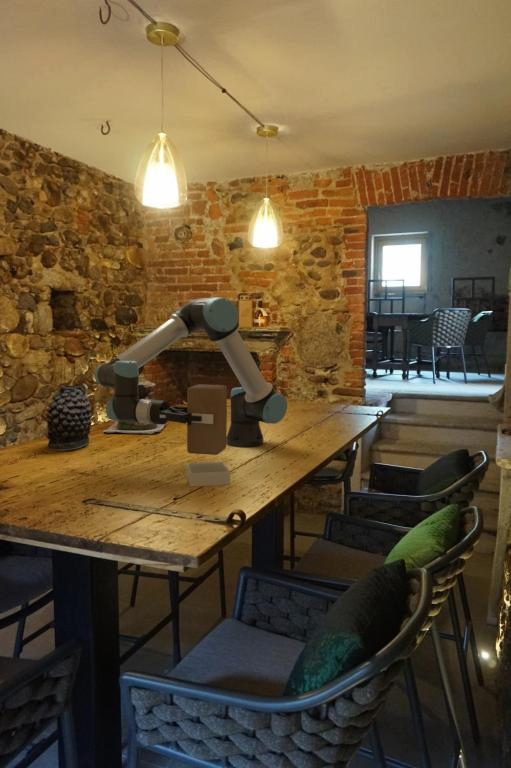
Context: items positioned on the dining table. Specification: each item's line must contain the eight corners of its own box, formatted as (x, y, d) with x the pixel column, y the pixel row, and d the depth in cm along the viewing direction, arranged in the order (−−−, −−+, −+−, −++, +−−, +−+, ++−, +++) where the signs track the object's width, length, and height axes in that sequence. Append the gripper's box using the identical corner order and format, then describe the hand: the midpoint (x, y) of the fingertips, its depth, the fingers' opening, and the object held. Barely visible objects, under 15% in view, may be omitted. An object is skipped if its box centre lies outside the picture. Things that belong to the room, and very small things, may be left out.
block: (218, 455, 162) (219, 388, 160) (186, 453, 164) (186, 387, 162) (227, 448, 172) (227, 385, 170) (196, 446, 174) (196, 383, 172)
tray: (223, 474, 176) (223, 461, 176) (230, 484, 165) (230, 471, 164) (185, 475, 174) (185, 463, 173) (189, 486, 162) (189, 473, 162)
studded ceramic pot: (67, 440, 225) (66, 379, 222) (101, 442, 221) (100, 380, 219) (36, 451, 204) (34, 384, 202) (73, 454, 201) (71, 386, 198)
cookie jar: (117, 424, 263) (116, 357, 260) (168, 425, 263) (168, 358, 259) (101, 434, 239) (100, 360, 236) (157, 435, 238) (157, 361, 235)
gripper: (170, 418, 184) (232, 422, 177) (135, 430, 162) (204, 435, 155) (170, 395, 183) (233, 399, 176) (135, 404, 161) (205, 409, 154)
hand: (220, 416), depth 166 cm, fingers closed on block, 11 cm apart
